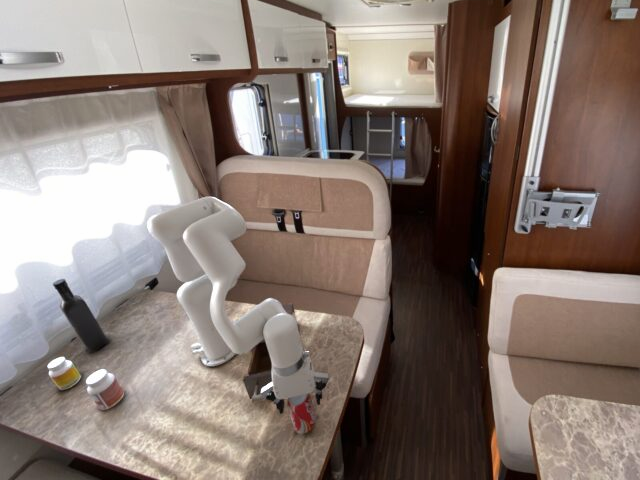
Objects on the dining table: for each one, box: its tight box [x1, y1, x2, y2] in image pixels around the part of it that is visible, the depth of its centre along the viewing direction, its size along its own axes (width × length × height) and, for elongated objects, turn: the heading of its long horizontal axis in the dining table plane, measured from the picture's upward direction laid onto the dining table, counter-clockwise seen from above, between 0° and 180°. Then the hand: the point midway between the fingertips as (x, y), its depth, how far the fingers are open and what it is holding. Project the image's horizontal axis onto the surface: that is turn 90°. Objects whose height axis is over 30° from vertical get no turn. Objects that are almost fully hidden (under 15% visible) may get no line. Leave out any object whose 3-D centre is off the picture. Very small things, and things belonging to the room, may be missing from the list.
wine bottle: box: [52, 278, 109, 353], centre depth 107 cm, size 6×6×30 cm
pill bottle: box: [85, 368, 125, 411], centre depth 91 cm, size 6×6×11 cm
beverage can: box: [286, 392, 317, 435], centre depth 82 cm, size 6×6×12 cm
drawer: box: [242, 343, 274, 403], centre depth 94 cm, size 19×11×9 cm, turn 11°
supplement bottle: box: [47, 356, 82, 391], centre depth 98 cm, size 5×5×10 cm
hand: (300, 403), depth 81 cm, fingers open, 9 cm apart
